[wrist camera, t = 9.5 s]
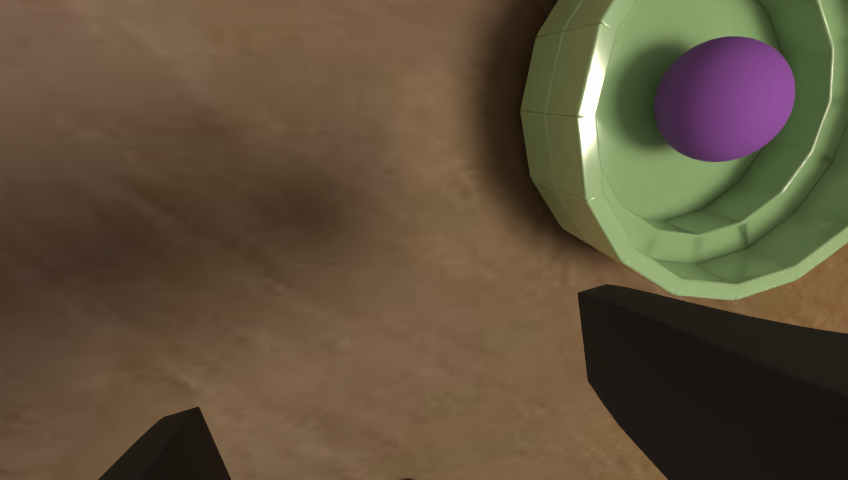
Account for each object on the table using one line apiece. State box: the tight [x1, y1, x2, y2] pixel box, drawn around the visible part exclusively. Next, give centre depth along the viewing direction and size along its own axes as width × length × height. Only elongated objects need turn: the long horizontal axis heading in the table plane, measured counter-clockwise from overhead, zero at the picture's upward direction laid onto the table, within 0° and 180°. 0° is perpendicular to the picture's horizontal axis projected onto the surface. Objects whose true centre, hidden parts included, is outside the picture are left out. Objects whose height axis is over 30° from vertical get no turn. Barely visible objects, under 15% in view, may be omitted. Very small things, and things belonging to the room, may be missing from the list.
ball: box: [654, 36, 795, 162], centre depth 16 cm, size 4×4×4 cm
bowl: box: [520, 0, 848, 300], centre depth 17 cm, size 12×12×4 cm
